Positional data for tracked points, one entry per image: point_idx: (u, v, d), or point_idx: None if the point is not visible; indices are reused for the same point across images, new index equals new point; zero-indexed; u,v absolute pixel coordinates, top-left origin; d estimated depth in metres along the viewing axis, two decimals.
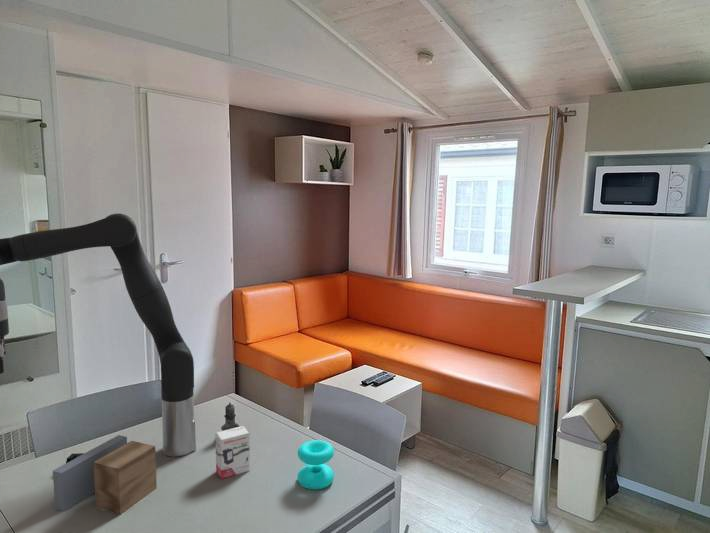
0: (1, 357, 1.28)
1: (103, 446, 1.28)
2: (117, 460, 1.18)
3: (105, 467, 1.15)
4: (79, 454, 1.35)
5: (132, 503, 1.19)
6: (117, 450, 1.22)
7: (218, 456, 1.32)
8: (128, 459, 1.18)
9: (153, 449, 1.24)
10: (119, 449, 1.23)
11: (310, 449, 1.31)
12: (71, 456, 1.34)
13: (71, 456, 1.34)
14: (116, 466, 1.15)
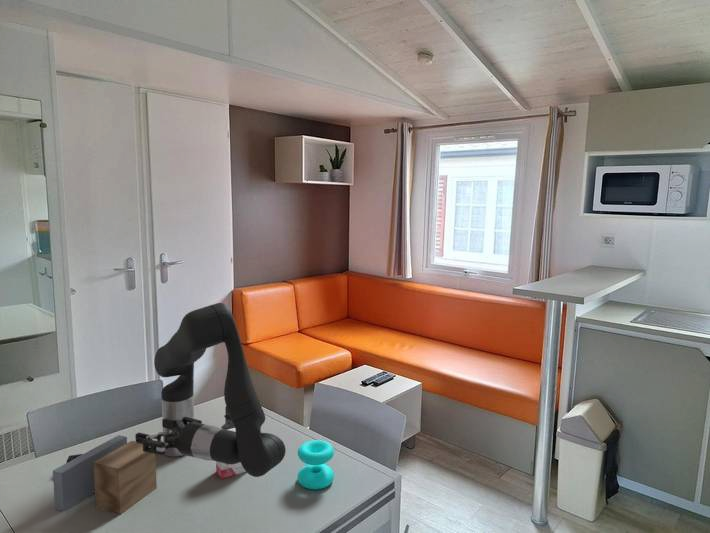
0: None
1: (103, 446, 1.28)
2: (117, 460, 1.18)
3: (105, 467, 1.15)
4: (78, 455, 1.35)
5: (132, 503, 1.19)
6: (117, 450, 1.22)
7: None
8: (128, 459, 1.18)
9: None
10: (119, 449, 1.23)
11: (310, 449, 1.31)
12: (69, 457, 1.33)
13: (70, 458, 1.33)
14: (116, 466, 1.15)
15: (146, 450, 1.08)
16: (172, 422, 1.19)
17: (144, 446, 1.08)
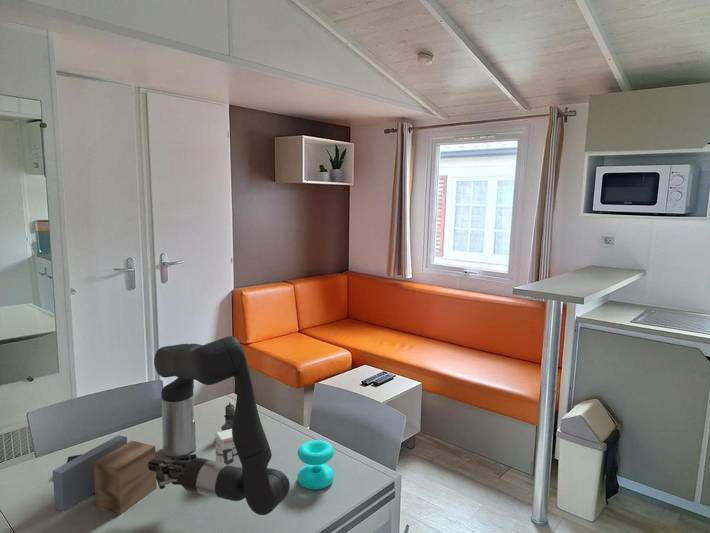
0: None
1: (103, 446, 1.28)
2: (118, 460, 1.18)
3: (105, 467, 1.15)
4: (77, 455, 1.34)
5: (132, 503, 1.19)
6: (117, 450, 1.22)
7: (218, 456, 1.32)
8: (128, 459, 1.18)
9: (153, 449, 1.24)
10: (119, 449, 1.23)
11: (310, 449, 1.31)
12: (69, 458, 1.33)
13: (70, 459, 1.33)
14: (116, 466, 1.15)
15: (157, 478, 1.13)
16: None
17: None
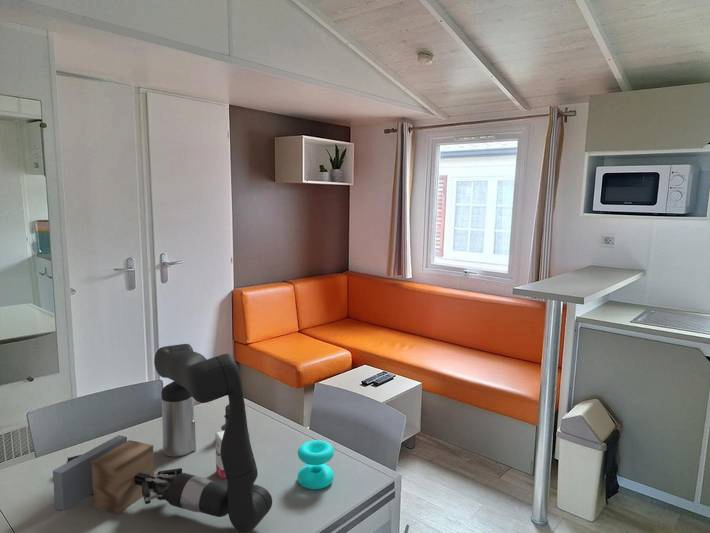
0: None
1: (103, 446, 1.28)
2: (116, 459, 1.18)
3: (103, 466, 1.15)
4: (77, 456, 1.34)
5: (130, 502, 1.19)
6: (115, 449, 1.22)
7: (218, 456, 1.32)
8: (126, 458, 1.18)
9: (151, 448, 1.25)
10: (117, 448, 1.23)
11: (310, 449, 1.31)
12: (69, 459, 1.32)
13: (70, 459, 1.32)
14: (114, 465, 1.15)
15: (142, 493, 1.15)
16: None
17: None
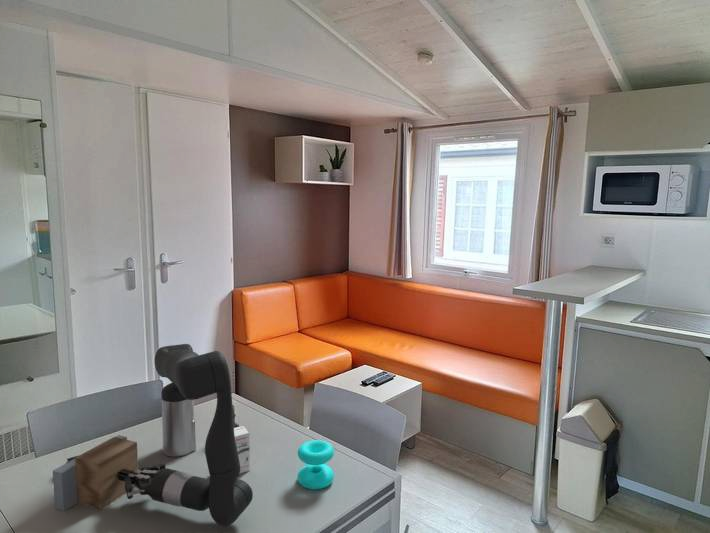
0: None
1: None
2: (99, 455, 1.20)
3: (86, 462, 1.17)
4: (77, 456, 1.34)
5: (113, 498, 1.20)
6: (99, 446, 1.24)
7: None
8: (109, 455, 1.20)
9: (135, 445, 1.26)
10: (101, 445, 1.25)
11: (310, 449, 1.31)
12: (70, 460, 1.32)
13: None
14: (97, 461, 1.17)
15: (125, 488, 1.17)
16: (130, 473, 1.21)
17: None
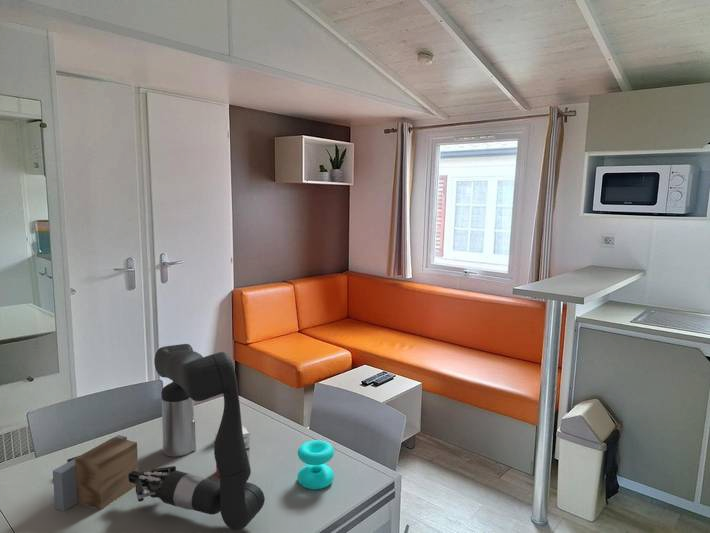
0: None
1: None
2: (99, 455, 1.20)
3: (86, 463, 1.17)
4: None
5: (113, 498, 1.20)
6: (99, 446, 1.24)
7: None
8: (109, 455, 1.20)
9: (135, 445, 1.26)
10: (101, 445, 1.25)
11: (310, 449, 1.31)
12: (70, 460, 1.32)
13: None
14: (97, 462, 1.17)
15: (136, 490, 1.16)
16: None
17: None
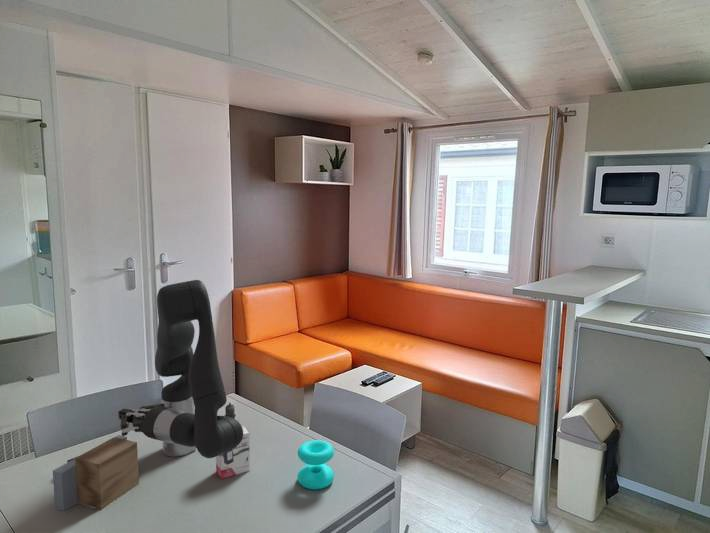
0: None
1: None
2: (99, 455, 1.20)
3: (86, 463, 1.17)
4: None
5: (113, 498, 1.20)
6: (99, 446, 1.24)
7: (218, 456, 1.32)
8: (109, 455, 1.20)
9: (135, 445, 1.26)
10: (101, 445, 1.25)
11: (310, 449, 1.31)
12: None
13: None
14: (97, 462, 1.17)
15: None
16: None
17: None
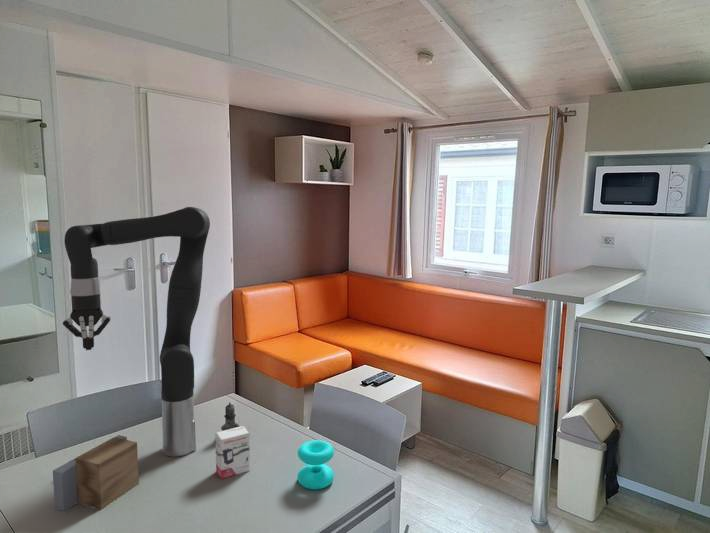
0: None
1: None
2: (99, 455, 1.20)
3: (86, 463, 1.17)
4: None
5: (113, 498, 1.20)
6: (99, 446, 1.24)
7: (218, 456, 1.32)
8: (109, 455, 1.20)
9: (135, 445, 1.26)
10: (101, 445, 1.25)
11: (310, 449, 1.31)
12: None
13: None
14: (97, 462, 1.17)
15: None
16: None
17: None
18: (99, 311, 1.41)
